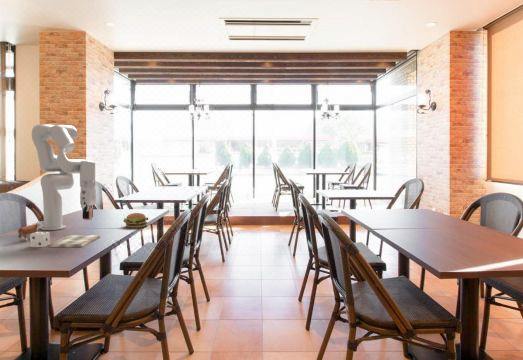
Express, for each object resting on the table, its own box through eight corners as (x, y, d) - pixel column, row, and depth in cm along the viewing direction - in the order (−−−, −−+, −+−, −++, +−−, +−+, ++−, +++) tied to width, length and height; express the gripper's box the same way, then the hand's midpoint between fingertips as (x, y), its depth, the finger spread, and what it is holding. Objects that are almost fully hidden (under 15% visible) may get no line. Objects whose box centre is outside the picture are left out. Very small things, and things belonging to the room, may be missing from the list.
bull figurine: (44, 237, 209) (44, 221, 208) (21, 242, 196) (21, 226, 196) (38, 236, 210) (37, 221, 210) (15, 242, 198) (14, 225, 197)
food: (118, 227, 238) (118, 213, 237) (135, 223, 250) (135, 210, 249) (135, 229, 231) (135, 215, 231) (152, 225, 244) (152, 212, 243)
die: (30, 247, 187) (29, 234, 187) (37, 244, 193) (37, 231, 193) (43, 247, 187) (43, 234, 187) (50, 244, 193) (49, 231, 193)
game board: (48, 246, 188) (48, 244, 188) (69, 237, 209) (69, 235, 209) (82, 247, 188) (82, 244, 188) (100, 237, 209) (100, 235, 209)
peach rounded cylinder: (82, 219, 212) (82, 204, 211) (85, 218, 216) (85, 203, 215) (90, 220, 212) (89, 204, 212) (93, 218, 216) (93, 203, 215)
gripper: (88, 185, 204) (88, 221, 206) (100, 182, 221) (100, 215, 223) (73, 185, 204) (73, 220, 206) (87, 182, 221) (87, 214, 222)
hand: (87, 217), depth 214 cm, fingers closed on peach rounded cylinder, 4 cm apart
